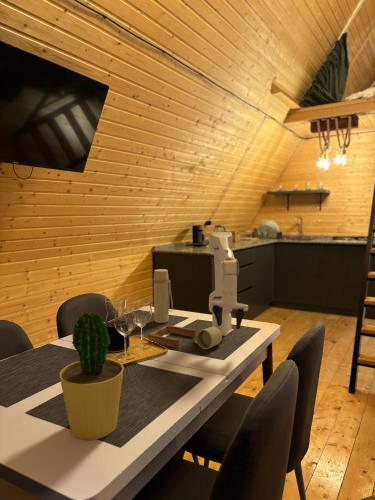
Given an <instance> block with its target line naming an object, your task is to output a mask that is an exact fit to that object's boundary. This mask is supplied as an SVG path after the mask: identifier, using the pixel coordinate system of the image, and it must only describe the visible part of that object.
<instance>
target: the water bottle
mask: <svg viewBox="0 0 375 500" xmlns="http://www.w3.org/2000/svg"><path fill="white" fill-rule="evenodd" d="M153 271H154V272H153V311H154V312H153V314H154V315H153V318H154V322H155V323H158V324H166V323H167V322H169V320H170V317H169V316H170V315H169V313H172V312H173V309H174V307H173V304H174V303H171V308H170V302H173V298H172V297H173V296H172V295H171V294H172V290H171V289H172V288H171V280H170V279H169V273H168V272H169V270H168V269H164V268H161V269H160V268H159V269H154V270H153ZM170 299H171V301H170ZM170 309H171V310H170Z"/></svg>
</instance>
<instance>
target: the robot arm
mask: <svg viewBox="0 0 375 500" xmlns="http://www.w3.org/2000/svg"><path fill="white" fill-rule="evenodd" d="M233 237H234V236H233V233H232V232H231V231H227V232H226V231H220V232H218V231H215V232H212V231H210V232H209V233H208V250H209V252H211V253H212V254H213V258H214V260H213V261H214V282H215V283H214V286H215V288H214V290H213V291H212V292H211V293H210V294H209V296H208V298H209V299H208V311H210V313H211V316H212V317H211V318H212V320H211V321H212V322H211V323H212V324H211V327H216V328H218V329H219V330H220V331H221V334H222V337H223V336H224V337H226V336H227V335H228V334H230V333H231V332H233V331H234V328H232V324H233V323H232V319H233V318H232V314H231V312H232V311H233V310H236V311H235V312H234V313H235V319H236V322H235V323H236V325H235V329H236V330H239V329H241V325H242V321H243V319H244V316H245V314H246V313H247V311H248V310H249V305H248V304H245V303H240V302H238V301H237V298H238V296H237V295H238V291H237V290H238V275H239V272H240V265H239V261H238V259H237V258H235V256H234V252H233V250H232V249H231V248H232V245H233Z"/></svg>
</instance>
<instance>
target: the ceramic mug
mask: <svg viewBox="0 0 375 500" xmlns="http://www.w3.org/2000/svg"><path fill="white" fill-rule="evenodd" d="M222 338H223V336H222V334H221V331H220V330H219V329H218V328H216V327H212V326H209V327H207V328H202V329H200V330H199V331H198V332H196V337H195V339H194V343H195V345H196V344H197V345H198V347H200V348H201V349H203V350H209V349H211V348H213V347H215V346H217V345H219V344H220V343H221V341H222V340H223V339H222Z"/></svg>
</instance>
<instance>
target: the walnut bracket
mask: <svg viewBox="0 0 375 500" xmlns="http://www.w3.org/2000/svg"><path fill="white" fill-rule="evenodd" d="M168 333H169V334H175V335H178V336H179V335H180V336H185V337H191V338H196V336H197V329H195V328H188V327H187V328H186V327H183V326H182V327H181V326H177V325H176V326H175V325H171V324H170V325H169V324H167V325H164V326H162V327H161V328H159V329H156V330H155V331H153V332H151V333H149V334H148V335H147V336H148V337H147V339H148V340H150V341H153V342H156V343H158V344H157V345H162V346H166V347H172V348H175V349H178V348H180V339H178V338H173V337H167V336H165V335H167V334H168ZM148 340H147V341H148ZM156 343H155V344H156Z"/></svg>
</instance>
